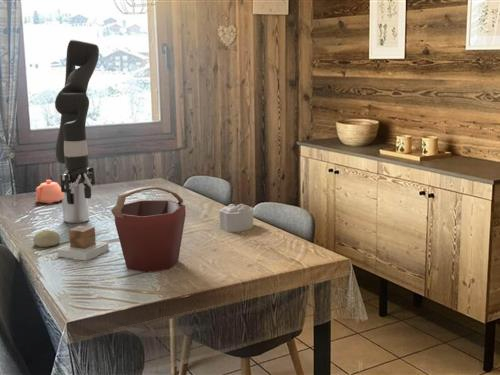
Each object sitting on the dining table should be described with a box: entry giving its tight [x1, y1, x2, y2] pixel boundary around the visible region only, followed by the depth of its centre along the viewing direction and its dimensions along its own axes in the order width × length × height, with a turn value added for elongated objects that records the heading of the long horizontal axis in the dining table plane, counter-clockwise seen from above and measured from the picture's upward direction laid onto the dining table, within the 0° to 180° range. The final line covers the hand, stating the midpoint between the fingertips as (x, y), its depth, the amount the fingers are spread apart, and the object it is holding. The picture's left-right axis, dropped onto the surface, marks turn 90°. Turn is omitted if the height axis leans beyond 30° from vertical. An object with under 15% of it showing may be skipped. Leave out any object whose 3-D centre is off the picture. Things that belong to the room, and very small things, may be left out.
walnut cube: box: [68, 225, 96, 249], centre depth 207 cm, size 6×6×6 cm
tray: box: [56, 241, 110, 261], centre depth 208 cm, size 12×12×3 cm
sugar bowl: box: [35, 179, 64, 205], centre depth 281 cm, size 12×14×10 cm
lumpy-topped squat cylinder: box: [218, 203, 254, 233], centre depth 236 cm, size 10×13×9 cm
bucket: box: [110, 186, 187, 273], centre depth 195 cm, size 24×22×25 cm
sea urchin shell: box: [32, 229, 61, 248], centre depth 219 cm, size 9×8×8 cm
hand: (79, 201), depth 205 cm, fingers open, 8 cm apart
